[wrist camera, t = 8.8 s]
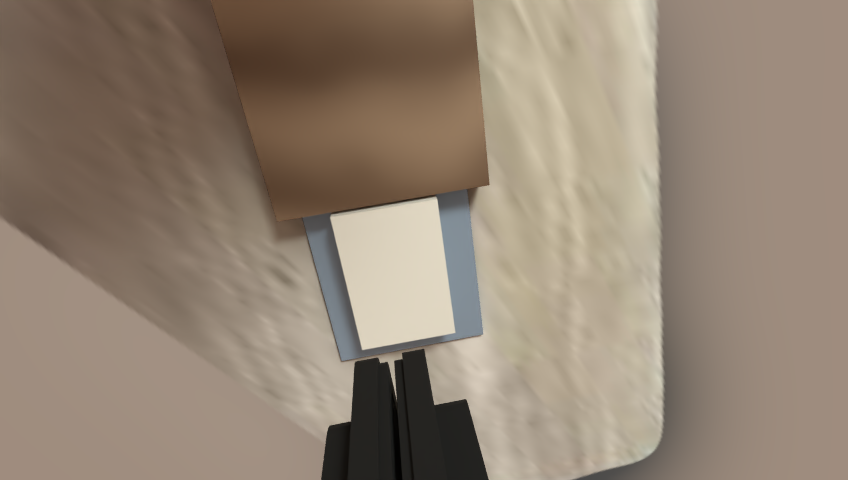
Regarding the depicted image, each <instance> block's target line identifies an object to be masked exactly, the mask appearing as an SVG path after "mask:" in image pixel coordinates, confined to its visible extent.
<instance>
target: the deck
mask: <svg viewBox="0 0 848 480" xmlns="http://www.w3.org/2000/svg"><path fill="white" fill-rule="evenodd" d="M211 4H212V7H213V10H214V14H215V17H216V20H217V24H218V27H219V30H220V34H221V37H222V40H223V44H224V47H225V50H226V54H227V57H228V60H229V64H230V67H231V70H232V74H233V77H234V80H235V83H236V87H237V90H238V93H239V97H240V100H241V103H242V107H243V110H244V113H245V117H246V120H247V123H248V127H249V130H250V133H251V137H252V140H253V143H254V147H255V150H256V153H257V157H258V160H259V163H260V167H261V170H262V173H263V177H264V180H265V183H266V187H267V190H268V193H269V197H270V200H271V203H272V207H273V210H274V213H275V217H276V220H277V222H279V221H285V220H291V219H296V218H302V217H308V216H314V215H319V214H325V213H331V212H337V211H342V210H348V209H354V208H360V207H365V206H371V205H377V204H383V203H389V202H394V201H400V200H406V199H412V198H417V197H423V196H429V195H435V194H440V193H446V192H452V191H458V190H463V189H469V188H475V187H481V186H486V185H489V174H488V163H487V152H486V141H485V130H484V119H483V107H482V96H481V85H480V74H479V63H478V51H477V40H476V29H475V18H474V7H473V0H211Z"/></svg>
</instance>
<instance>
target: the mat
mask: <svg viewBox="0 0 848 480" xmlns="http://www.w3.org/2000/svg"><path fill="white" fill-rule="evenodd" d="M435 195H436V198H437V201H438V208H439V215H440V223H441V230H442V238H443V245H444V252H445V260H446V267H447V275H448V282H449V289H450V297H451V304H452V311H453V319H454V326H455V333H452V334H447V335H442V336H436V337H431V338H425V339H420V340H414V341H409V342H403V343H398V344H393V345H387V346H382V347H376V348H371V349H365V350H362V347H361V343H360V339H359V335H358V331H357V326H356V322H355V318H354V314H353V310H352V306H351V302H350V297H349V293H348V289H347V285H346V281H345V277H344V273H343V269H342V264H341V260H340V256H339V252H338V248H337V244H336V240H335V236H334V231H333V227H332V223H331V219H330V216H331V213H332V212H331V213H325V214H319V215H314V216H308V217H302V218H303V222H304V226H305V229H306V233H307V237H308V240H309V244H310V248H311V251H312V255H313V258H314V262H315V266H316V269H317V273H318V277H319V280H320V284H321V288H322V291H323V295H324V299H325V302H326V306H327V309H328V313H329V317H330V320H331V324H332V328H333V331H334V335H335V339H336V342H337V346H338V350H339V353H340V357H341V360H342V361H345V360H350V359H355V358H360V357H366V356H371V355H376V354H382V353H387V352H392V351H398V350H403V349H408V348H414V347H419V346H424V345H429V344H435V343H440V342H445V341H451V340H456V339H461V338H467V337H472V336H477V335H483V328H482V319H481V310H480V301H479V292H478V283H477V274H476V265H475V256H474V247H473V238H472V229H471V220H470V211H469V202H468V193H467V189H463V190H458V191H452V192H446V193H440V194H435Z"/></svg>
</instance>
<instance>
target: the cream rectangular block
mask: <svg viewBox="0 0 848 480" xmlns="http://www.w3.org/2000/svg"><path fill="white" fill-rule="evenodd" d="M330 219H331V223H332V227H333V231H334V236H335V240H336V244H337V248H338V252H339V256H340V260H341V264H342V269H343V273H344V277H345V281H346V285H347V289H348V293H349V297H350V302H351V306H352V310H353V314H354V318H355V322H356V326H357V331H358V335H359V339H360V343H361V347H362V350H365V349H371V348H376V347H382V346H387V345H393V344H398V343H403V342H409V341H414V340H420V339H425V338H431V337H436V336H442V335H447V334H452V333H455V326H454V319H453V311H452V304H451V297H450V289H449V282H448V275H447V267H446V260H445V252H444V245H443V238H442V230H441V223H440V215H439V208H438V201H437V198H436V195H429V196H423V197H417V198H412V199H406V200H400V201H394V202H389V203H383V204H377V205H371V206H365V207H360V208H354V209H348V210H342V211H337V212H332V213H331V216H330Z"/></svg>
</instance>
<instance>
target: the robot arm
mask: <svg viewBox="0 0 848 480" xmlns="http://www.w3.org/2000/svg"><path fill="white" fill-rule="evenodd" d="M402 358H403V359H401V360H395V361H394V364H395V379H396V393H397V400H396V396H395V391H394V387H393V382H392V378H391V373H390V369H389V365H388V362H385V363H380V362H379V359H378V358H373V359H367V360H362V361H357V362H355V367H354V383H353V399H352V415H351V422H346V423H341V424H336V425H331V426H329V428H328V432H327V438H326V446H325V454H324V462H323V470H322V478H321V480H489V479H488V476H487V472H486V468H485V465H484V461H483V457H482V454H481V450H480V447H479V443H478V439H477V436H476V432H475V428H474V425H473V421H472V417H471V414H470V410H469V406H468V403H467V400H466V399H464V400H459V401H454V402H449V403H444V404H439V405H434V401H433V396H432V390H431V384H430V379H429V373H428V368H427V362H426V357H425V351H424V349H420V350H415V351H410V352H404V353H402Z"/></svg>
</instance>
